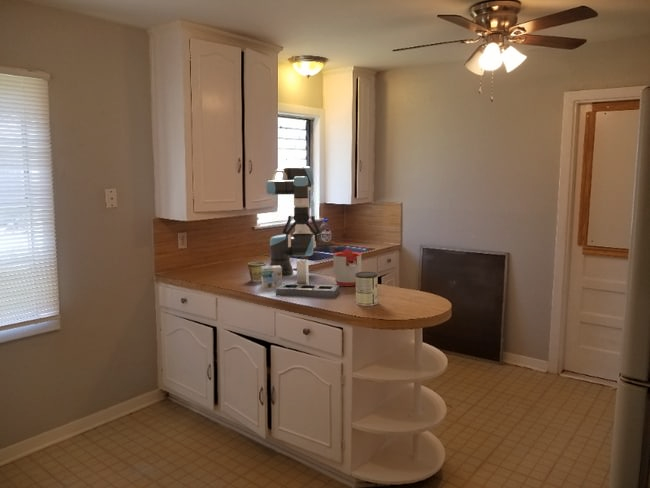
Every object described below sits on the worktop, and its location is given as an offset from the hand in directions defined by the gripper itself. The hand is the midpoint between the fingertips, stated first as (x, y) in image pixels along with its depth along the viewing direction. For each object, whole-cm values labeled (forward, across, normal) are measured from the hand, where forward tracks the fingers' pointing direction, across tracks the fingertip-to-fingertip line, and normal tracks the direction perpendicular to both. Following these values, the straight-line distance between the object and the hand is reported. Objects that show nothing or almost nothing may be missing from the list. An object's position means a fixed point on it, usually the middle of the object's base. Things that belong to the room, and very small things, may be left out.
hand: (302, 247), depth 288 cm
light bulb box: (+22, -18, +2) cm, 29 cm away
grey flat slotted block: (+22, +6, -12) cm, 26 cm away
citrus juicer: (+22, +22, +12) cm, 34 cm away
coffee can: (+22, +38, -26) cm, 51 cm away
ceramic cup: (+22, -31, +16) cm, 41 cm away
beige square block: (+22, 0, 0) cm, 22 cm away
